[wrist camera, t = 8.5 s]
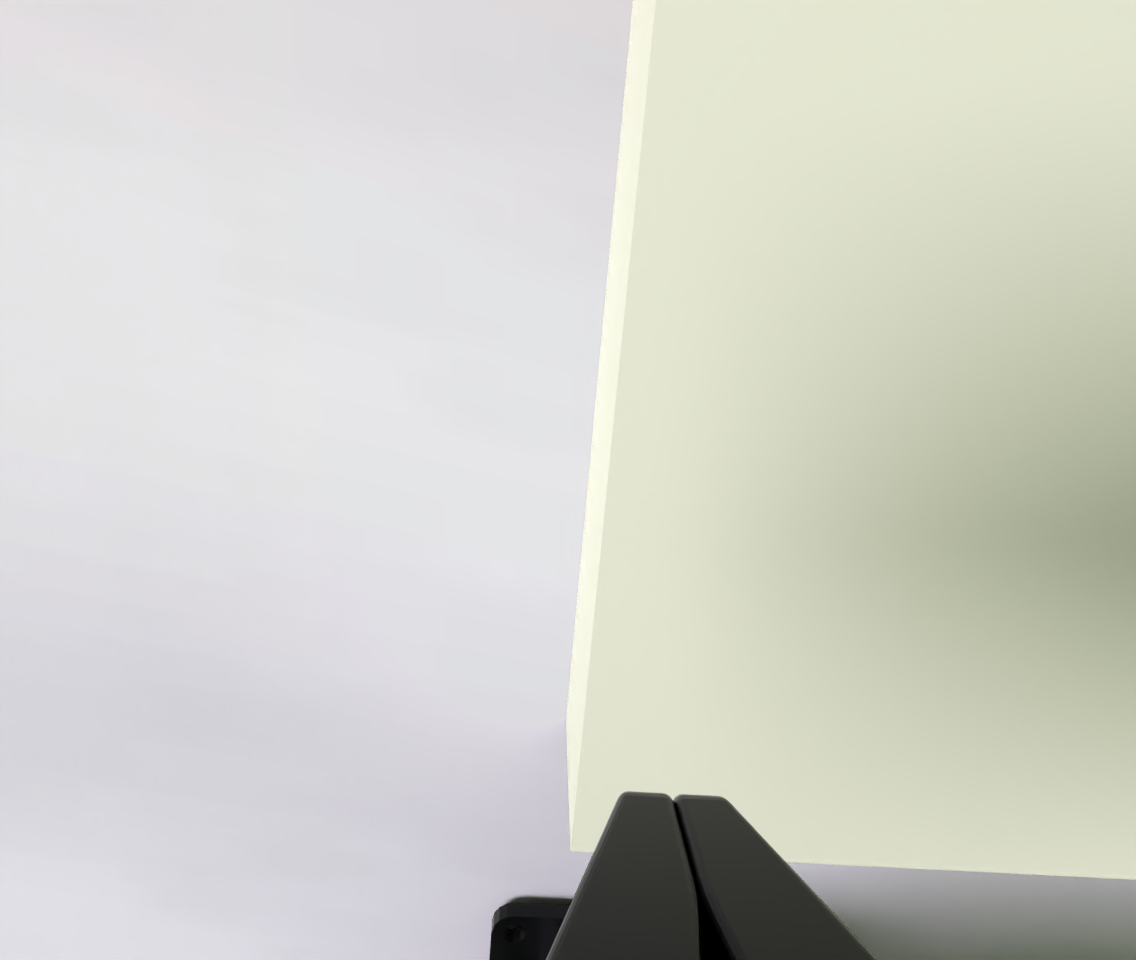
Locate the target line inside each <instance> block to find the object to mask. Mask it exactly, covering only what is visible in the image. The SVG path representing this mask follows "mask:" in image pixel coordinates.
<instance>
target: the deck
mask: <svg viewBox="0 0 1136 960" xmlns="http://www.w3.org/2000/svg"><path fill="white" fill-rule="evenodd" d="M566 727H567V758H568V789H569V820H570V851H573V852H593V853H594V851H595V848H596V846H597V844H598V842H599V839H600V837H601V835H602V833H603V830H604V828H605V826H606V824H607V822H608V819H609V817H610V815H611V813H612V810H613V808H614V806H615V804H616V801H617V799H618V797H619V796H620V795H621V794H622V793H623V792H626V791H634V792H653V793H665V794H667V795H668V796H670V797H671V798H672V800H674V798H675V797H676V796H677V795H679V794H691V795H711V796H721V797H723V798H725V799H727V800H728V801H729V802H730V803H731V804H732V805H733V806H734V807H735V808H736V809H737V810H738V811H739V812H740V814H741V815H742V816H743V817H744V818H745V819H746V820H747V821H748V822H749V823H750V824H751V825H752V826H753V827H754V829H755V830H756V831H757V832H758V833H759V834H760V835H761V836H762V837H763V838H764V839H765V840H766V841H767V842H768V843H769V845H770V846H771V847H772V848H773V849H774V850H775V851H776V852H777V853H778V854H779V855H780V856H781V857H782V858H783V860H784V861H785V862H792V863H812V864H832V865H852V866H872V867H892V868H912V869H932V870H952V871H972V872H992V873H1012V874H1032V875H1052V876H1072V877H1092V878H1112V879H1132V880H1136V0H633V8H632V18H631V29H630V40H629V51H628V61H627V72H626V83H625V94H624V104H623V115H622V126H621V137H620V147H619V158H618V169H617V179H616V190H615V201H614V212H613V222H612V233H611V244H610V255H609V265H608V276H607V287H606V298H605V308H604V319H603V330H602V341H601V351H600V362H599V373H598V383H597V394H596V405H595V416H594V426H593V437H592V448H591V459H590V469H589V480H588V491H587V502H586V512H585V523H584V534H583V544H582V555H581V566H580V577H579V587H578V598H577V609H576V620H575V630H574V641H573V652H572V663H571V673H570V684H569V695H568V705H567V716H566Z"/></svg>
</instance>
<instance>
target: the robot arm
mask: <svg viewBox="0 0 1136 960" xmlns="http://www.w3.org/2000/svg"><path fill="white" fill-rule="evenodd" d="M511 925H517V926H521V928H519V929H511V928H508V926H511ZM490 960H877V959H876V958H875V957H874V956H873V955H872V954H871V953H870V951H869V950H868V949H867V948H866V947H865V946H864V945H863V944H862V943H861V942H860V941H859V940H858V939H857V938H856V937H855V935H854V934H853V933H852V932H851V931H850V930H849V929H848V928H847V927H846V926H845V925H844V924H843V923H842V922H841V920H840V919H839V918H838V917H837V916H836V915H835V914H834V913H833V912H832V911H831V910H830V909H829V908H828V907H827V906H826V904H825V903H824V902H823V901H822V900H821V899H820V898H819V897H818V896H817V895H816V894H815V893H814V892H813V891H812V889H811V888H810V887H809V886H808V885H807V884H806V883H805V882H804V881H803V880H802V879H801V878H800V877H799V876H798V874H797V873H796V872H795V871H794V870H793V869H792V868H791V867H790V866H789V865H788V864H787V863H786V862H785V861H784V860H783V858H782V857H781V856H780V855H779V854H778V853H777V852H776V851H775V850H774V849H773V848H772V847H771V846H770V845H769V843H768V842H767V841H766V840H765V839H764V838H763V837H762V836H761V835H760V834H759V833H758V832H757V831H756V830H755V829H754V827H753V826H752V825H751V824H750V823H749V822H748V821H747V820H746V819H745V818H744V817H743V816H742V815H741V814H740V812H739V811H738V810H737V809H736V808H735V807H734V806H733V805H732V804H731V803H730V802H729V801H728V800H727V799H725V798H723V797H721V796H711V795H691V794H679V795H677V796H676V797H675V798H674V800H672V798H671V797H670V796H668V795H667V794H665V793H653V792H634V791H626V792H623V793H622V794H621V795H620V796H619V797H618V799H617V801H616V804H615V806H614V808H613V810H612V813H611V815H610V817H609V819H608V822H607V824H606V826H605V828H604V830H603V833H602V835H601V837H600V839H599V842H598V844H597V846H596V848H595V851H594V853H593V855H592V857H591V860H590V862H589V864H588V866H587V869H586V871H585V873H584V875H583V877H582V880H581V882H580V884H579V886H578V889H577V891H576V893H575V895H574V898H573V900H572V902H571V904H570V905H549V904H528V903H510V904H506V905H504V906H502V907H500V908H499V909H498V910H497V911H496V912H495V913H494V916H493V919H492V931H491V946H490Z"/></svg>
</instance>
